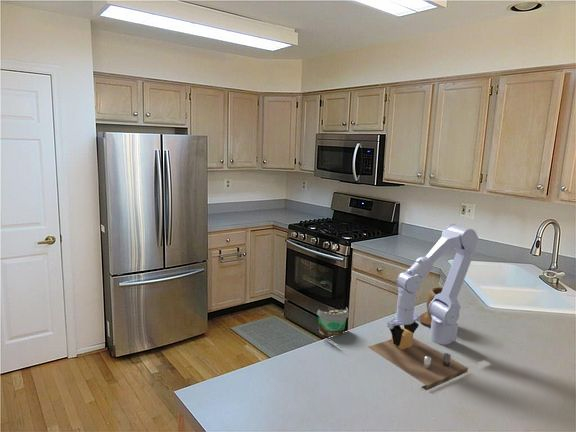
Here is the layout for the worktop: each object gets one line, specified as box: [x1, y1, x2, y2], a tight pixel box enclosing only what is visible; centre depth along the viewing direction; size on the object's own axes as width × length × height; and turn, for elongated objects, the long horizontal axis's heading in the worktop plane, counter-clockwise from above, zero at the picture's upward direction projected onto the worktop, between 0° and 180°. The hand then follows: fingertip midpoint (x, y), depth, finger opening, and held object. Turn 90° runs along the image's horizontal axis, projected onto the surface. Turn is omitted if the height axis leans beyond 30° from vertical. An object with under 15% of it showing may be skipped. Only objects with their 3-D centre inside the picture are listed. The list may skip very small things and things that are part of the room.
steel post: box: [423, 356, 431, 369], centre depth 123 cm, size 2×2×5 cm
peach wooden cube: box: [391, 326, 414, 350], centre depth 137 cm, size 5×5×5 cm
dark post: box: [443, 353, 451, 367], centre depth 125 cm, size 2×2×5 cm
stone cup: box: [419, 286, 445, 327], centre depth 159 cm, size 15×12×15 cm
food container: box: [316, 306, 350, 340], centre depth 143 cm, size 12×6×10 cm, turn 105°
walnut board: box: [367, 337, 469, 391], centre depth 130 cm, size 20×25×2 cm
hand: (401, 342), depth 137 cm, fingers closed on peach wooden cube, 5 cm apart
